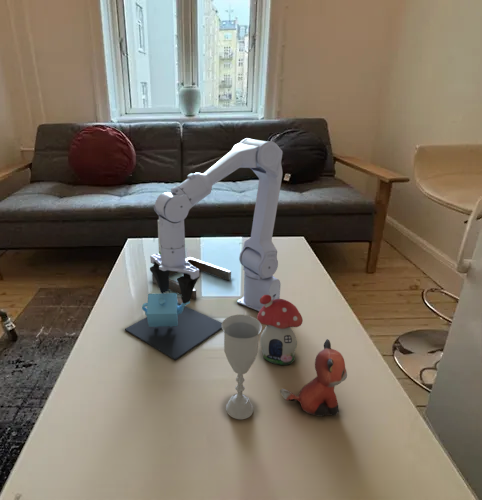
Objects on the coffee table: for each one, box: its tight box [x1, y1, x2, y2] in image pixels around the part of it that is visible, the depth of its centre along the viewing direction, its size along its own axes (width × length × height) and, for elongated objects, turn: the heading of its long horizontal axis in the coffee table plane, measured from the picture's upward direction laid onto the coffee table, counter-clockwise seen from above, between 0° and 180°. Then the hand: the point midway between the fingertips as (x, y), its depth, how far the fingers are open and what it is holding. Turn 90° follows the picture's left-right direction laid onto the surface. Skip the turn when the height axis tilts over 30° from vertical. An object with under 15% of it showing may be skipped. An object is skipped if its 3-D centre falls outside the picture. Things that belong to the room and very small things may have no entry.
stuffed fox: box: [279, 338, 348, 417], centre depth 70 cm, size 8×11×12 cm
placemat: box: [124, 302, 223, 361], centre depth 97 cm, size 18×18×1 cm
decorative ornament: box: [256, 295, 304, 366], centre depth 83 cm, size 9×6×15 cm
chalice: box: [221, 314, 263, 420], centre depth 68 cm, size 7×7×18 cm
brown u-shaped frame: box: [151, 256, 232, 301], centre depth 121 cm, size 18×17×3 cm
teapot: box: [141, 292, 191, 327], centre depth 96 cm, size 12×6×8 cm, turn 90°
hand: (175, 296), depth 94 cm, fingers open, 7 cm apart
